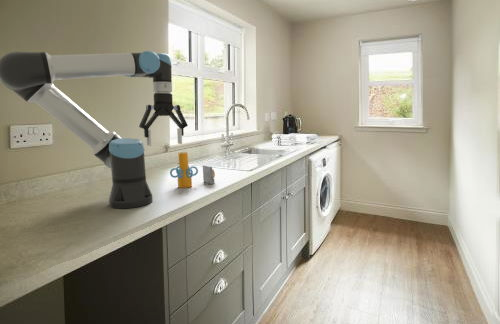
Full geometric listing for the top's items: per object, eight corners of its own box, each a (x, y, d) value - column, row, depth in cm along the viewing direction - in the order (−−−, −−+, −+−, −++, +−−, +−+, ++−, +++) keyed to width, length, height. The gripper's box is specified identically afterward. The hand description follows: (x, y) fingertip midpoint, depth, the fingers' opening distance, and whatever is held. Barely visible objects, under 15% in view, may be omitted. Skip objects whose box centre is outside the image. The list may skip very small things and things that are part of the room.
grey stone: (210, 184, 156) (209, 167, 154) (203, 181, 162) (202, 164, 161) (216, 183, 157) (216, 166, 156) (209, 180, 164) (208, 164, 163)
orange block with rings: (191, 189, 147) (189, 154, 145) (168, 189, 149) (165, 154, 147) (201, 183, 159) (199, 150, 156) (179, 183, 161) (177, 151, 158)
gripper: (135, 91, 134) (138, 146, 137) (194, 93, 148) (195, 143, 151) (129, 92, 140) (132, 145, 143) (186, 94, 154) (188, 142, 157)
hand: (164, 144), depth 147 cm, fingers open, 13 cm apart
